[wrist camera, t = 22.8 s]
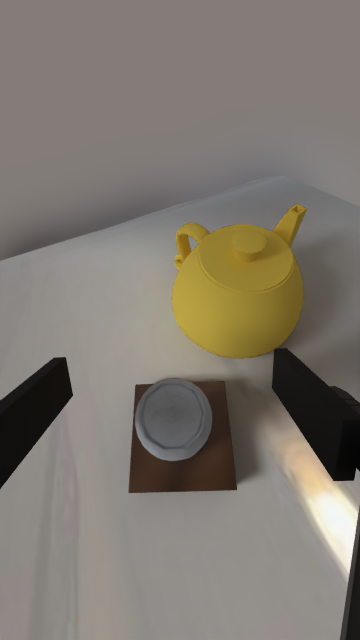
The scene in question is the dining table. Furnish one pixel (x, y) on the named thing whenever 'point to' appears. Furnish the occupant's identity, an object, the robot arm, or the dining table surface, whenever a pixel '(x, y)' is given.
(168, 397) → the beer can
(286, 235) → the teapot
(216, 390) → the flat wooden board
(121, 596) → the dining table surface
